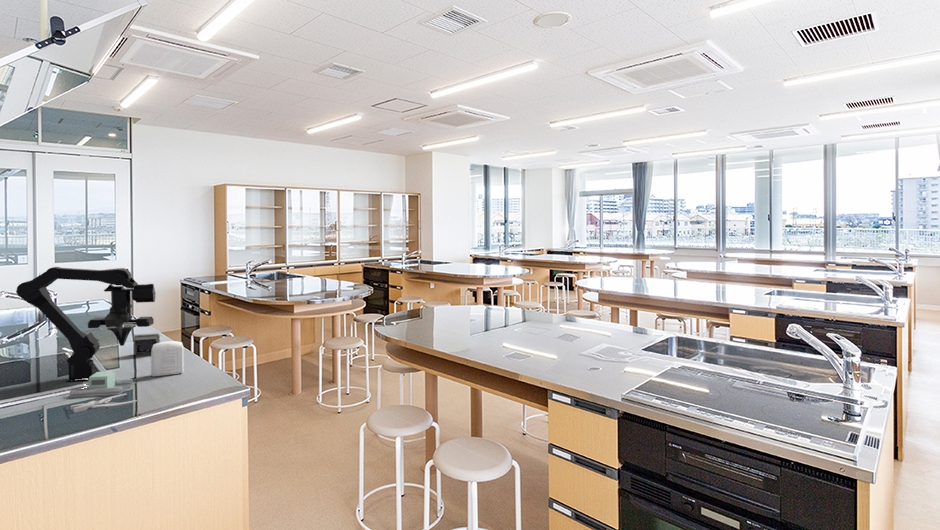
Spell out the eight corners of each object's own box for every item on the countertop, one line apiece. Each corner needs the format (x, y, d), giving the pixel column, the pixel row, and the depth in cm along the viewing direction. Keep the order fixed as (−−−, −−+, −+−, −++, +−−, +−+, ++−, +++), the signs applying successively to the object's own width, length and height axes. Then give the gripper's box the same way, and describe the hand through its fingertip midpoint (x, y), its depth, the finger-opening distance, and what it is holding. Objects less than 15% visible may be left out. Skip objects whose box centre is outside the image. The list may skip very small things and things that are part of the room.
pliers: (137, 397, 150) (77, 411, 138) (137, 402, 150) (77, 416, 138) (125, 390, 156) (67, 403, 144) (125, 395, 156) (67, 408, 144)
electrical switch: (161, 352, 207) (160, 331, 206) (159, 356, 203) (158, 335, 201) (134, 354, 203) (133, 333, 201) (132, 358, 198) (131, 337, 197)
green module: (89, 392, 155) (88, 377, 155) (97, 386, 161) (97, 371, 161) (107, 391, 157) (106, 376, 156) (115, 385, 163) (114, 371, 162)
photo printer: (183, 370, 183) (183, 338, 182) (184, 373, 179) (183, 341, 178) (151, 374, 177) (150, 341, 176) (151, 377, 173) (150, 344, 172)
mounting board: (67, 398, 151) (67, 392, 151) (86, 385, 163) (86, 379, 163) (119, 395, 155) (119, 389, 155) (134, 382, 167) (134, 377, 167)
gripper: (79, 307, 163) (81, 352, 164) (142, 306, 168) (143, 349, 170) (94, 302, 174) (95, 344, 175) (153, 301, 179) (154, 342, 180)
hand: (122, 345), depth 175 cm, fingers closed
